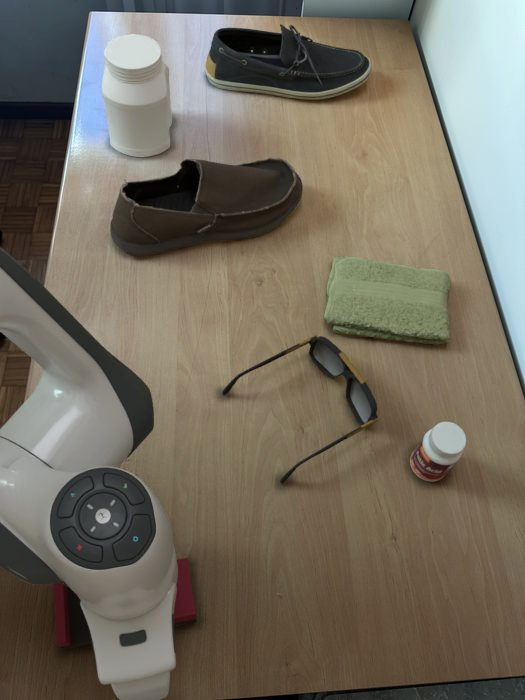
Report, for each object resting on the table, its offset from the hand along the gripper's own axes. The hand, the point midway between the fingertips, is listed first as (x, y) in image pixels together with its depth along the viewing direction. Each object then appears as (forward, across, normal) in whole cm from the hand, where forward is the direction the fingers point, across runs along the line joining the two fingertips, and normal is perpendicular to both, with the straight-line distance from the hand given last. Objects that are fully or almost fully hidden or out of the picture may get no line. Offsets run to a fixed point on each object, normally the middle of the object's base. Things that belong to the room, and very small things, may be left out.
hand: (140, 600), depth 70 cm
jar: (+2, -74, +8) cm, 74 cm away
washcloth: (+2, -34, +38) cm, 51 cm away
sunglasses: (+2, -20, +22) cm, 30 cm away
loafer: (+2, -52, +16) cm, 55 cm away
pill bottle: (+2, -10, +36) cm, 38 cm away
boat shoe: (+2, -84, +35) cm, 91 cm away
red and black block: (+2, 0, -2) cm, 2 cm away
